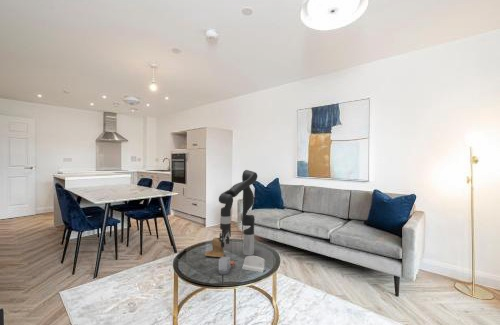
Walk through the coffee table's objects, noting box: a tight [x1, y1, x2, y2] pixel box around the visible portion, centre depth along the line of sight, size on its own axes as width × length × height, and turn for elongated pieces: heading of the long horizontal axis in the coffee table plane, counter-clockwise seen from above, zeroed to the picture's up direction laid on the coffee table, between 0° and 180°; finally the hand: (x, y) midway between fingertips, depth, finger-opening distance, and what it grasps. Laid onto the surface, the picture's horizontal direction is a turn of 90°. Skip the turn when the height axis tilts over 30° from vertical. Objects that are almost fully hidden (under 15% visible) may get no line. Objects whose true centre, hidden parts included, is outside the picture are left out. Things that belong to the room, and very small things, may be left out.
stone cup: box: [204, 237, 226, 258], centre depth 200 cm, size 15×12×15 cm
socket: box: [218, 256, 231, 271], centre depth 166 cm, size 6×6×7 cm
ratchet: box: [218, 260, 236, 276], centre depth 172 cm, size 19×7×8 cm, turn 162°
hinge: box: [242, 255, 266, 273], centre depth 174 cm, size 17×5×10 cm, turn 68°
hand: (225, 245), depth 168 cm, fingers open, 8 cm apart
